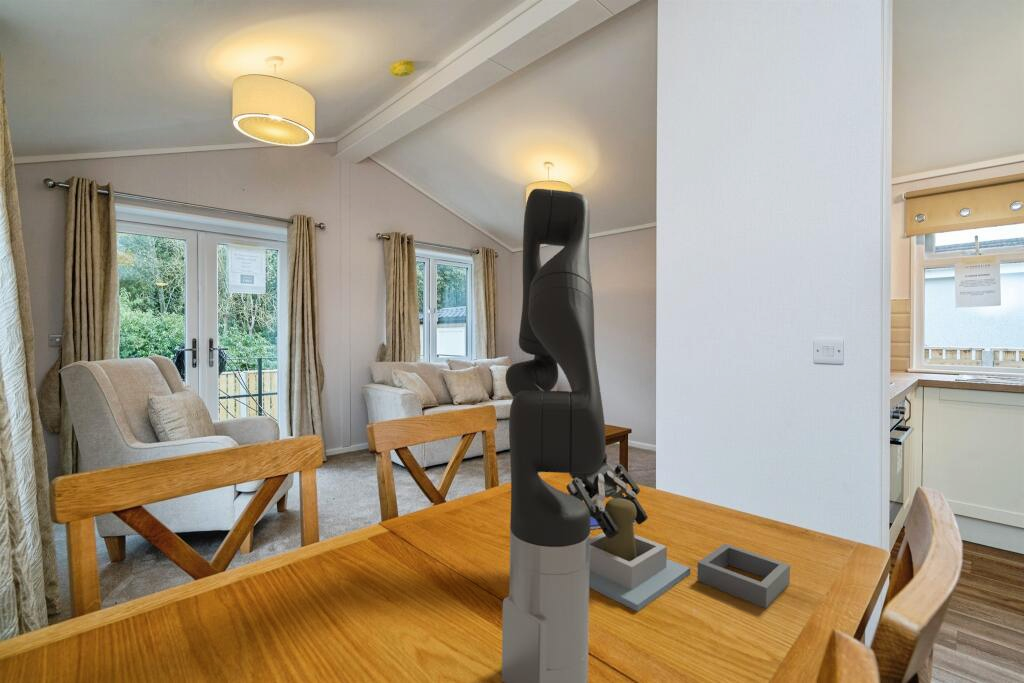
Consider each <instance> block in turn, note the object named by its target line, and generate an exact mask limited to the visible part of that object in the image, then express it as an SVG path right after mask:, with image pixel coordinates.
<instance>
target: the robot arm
mask: <svg viewBox="0 0 1024 683" xmlns="http://www.w3.org/2000/svg"><path fill="white" fill-rule="evenodd" d="M590 213H591V212H590V206H589V201H588V200H587V198H586V196H585V195H584V194H581V193H579V192H575V191H565V190H559V189H557V190H556V189H546V188H533V189H532V190H531V191H530V193H529V194H528V196H527V200H526V203H525V209H524V218H523V231H522V232H523V233H522V235H523V238H522V304H521V305H522V306H521V307H522V308H521V318H520V323H519V324H520V325H519V327H520V328H519V334H518V335H519V336H518V345H519V349H521V351H522V352H524V353H526V354H528V355H531V356H532V355H534V358H533V359H531V360H525V361H520V362H517V363H513V364H512V365H510V366H509V367H508V368H507V370H506V372H505V385H506V388H507V390H508V391H509V393H510V395H511V396H512V397H513V399H512V401H511V405H510V408H509V415H508V416H509V419H508V420H509V421H508V438H509V455H510V456H509V458H510V460H509V461H510V462H509V463H510V517H509V519H510V523H509V525H510V526H509V527H510V530H509V534H510V535H509V587H508V588H509V594H508V596H507V597H505V598H504V599H502V600H503V601H502V627H501V628H502V637H501V638H502V639H501V641H502V642H501V643H502V644H501V646H502V648H501V651H502V652H501V681H502V682H503V683H589V682H588V680H589V632H590V631H589V630H590V628H589V626H590V620H589V619H590V588H589V575H590V538H591V529H590V517H592V518H594V519H595V520H596V521H597V523H598V524H599V526H600V527H601V528H600V530H602V533H604V534H605V535H606V536H607V537H608V538H612V537H614V536H615V535H617V534H618V533H619V530H618V528H617V526H616V525H615V523H614V522H613V520H612V519H611V517H610V515H609V514H608V512H607V511H605V512H604V510H605V501H604V500H605V499H608V498H610V497H611V499H615V498H622V499H627V500H629V501H631V502H633V503H634V505H635V507H636V511H637V515H636V519H635V523H636V524H637V525H642V524H643V523H645V522H646V521H647V520H648V518H649V517H648V515H647V513H646V511H645V510H644V508H643V507H642V505H641V503H640V502H639V500H638V498H637V497H638V494H640V493H641V489H640V487H639V486H638V485H637V483H636V482H635V481H634V479H633V478H632V477H631V475H630V474H629V473H628V471H627V470H626V468H625V467H624V465H622V464H621V463H618V464H617V465H616V466H614V467H613V468H612V467H610V466H609V464H607V460H608V454H607V453H606V442H607V441H606V424H605V416H604V408H603V407H604V406H603V400H602V395H601V394H602V393H601V385H600V381H599V373H598V372H599V371H598V367H597V360H596V359H597V357H596V347H595V346H596V345H595V311H594V310H595V308H594V295H593V294H594V293H593V292H594V291H593V284H592V276H591V268H590V267H591V266H590V218H591V216H590V215H591V214H590ZM541 245H547V246H549V245H550V246H555V247H556V246H557V247H562V249H561V250H560V251H559V252H557V253H556V254H555V255H554V256H552V257H551V258H550V259H548V260H547V261H546V262H545V263H544V264H543V265H542V261H541V255H540V254H541V252H540V248H541ZM558 366H559V367H560V369H561V371H562V372H563V374H564V375H565V377H566V380H567V382H568V383H569V384H568V385H569V387H570V390H571V391H569V390H567V391H566V390H564V391H563V390H553V389H554V388H555V387H556V385H557V382H558V380H559V368H558ZM539 473H555V474H556V473H557V474H559V473H560V474H561V473H562V474H569V475H570V478H571V479H572V480H571V481H570V482H569V483H568V484H567V485H566V490H567V491H568V493H567V492H564V491H562V490H560V489H557V488H555V487H554V486H552V485H551V484H549V483H547V481H545V480H544V479H543V478H542V477H541V476H540V475H539ZM628 485H629V486H630V488H629V487H628Z"/></svg>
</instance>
